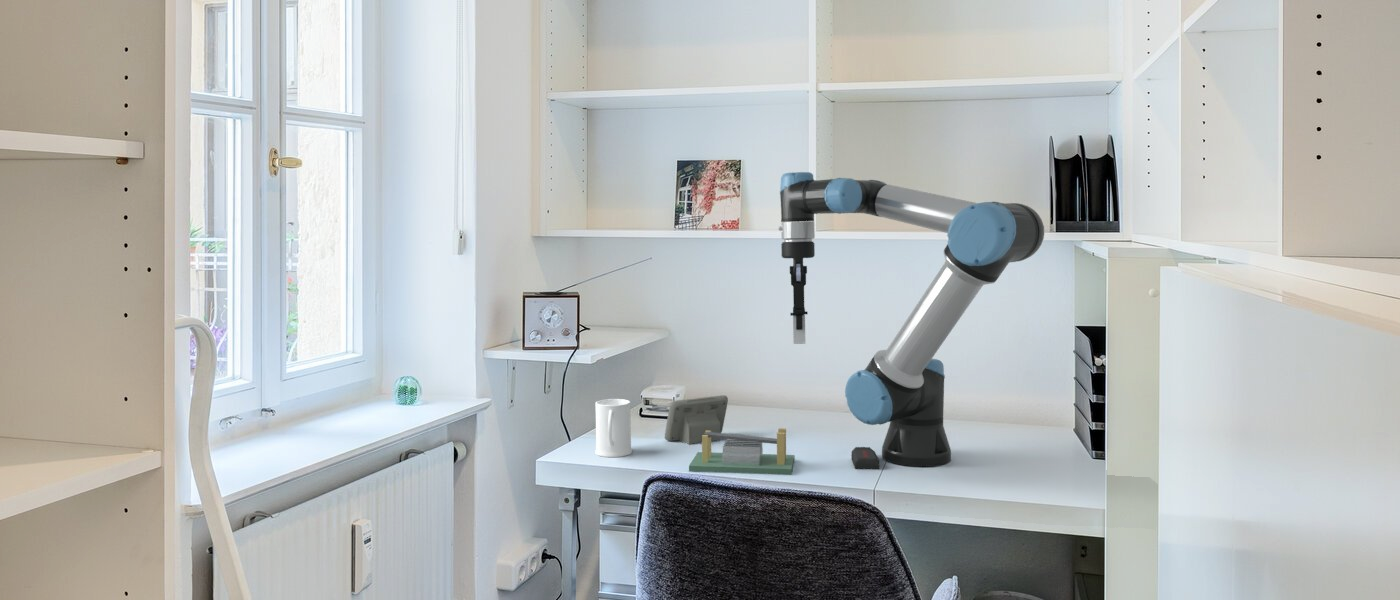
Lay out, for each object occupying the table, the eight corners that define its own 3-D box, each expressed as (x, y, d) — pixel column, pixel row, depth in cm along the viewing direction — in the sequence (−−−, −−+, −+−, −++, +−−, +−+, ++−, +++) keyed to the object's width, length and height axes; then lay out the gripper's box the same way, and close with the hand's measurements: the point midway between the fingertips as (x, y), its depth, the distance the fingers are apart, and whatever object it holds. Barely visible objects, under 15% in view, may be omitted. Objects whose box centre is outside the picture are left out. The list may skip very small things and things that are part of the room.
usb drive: (855, 470, 204) (855, 458, 204) (850, 456, 216) (850, 444, 216) (879, 471, 204) (879, 458, 203) (873, 456, 216) (873, 445, 215)
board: (794, 460, 212) (794, 425, 211) (791, 474, 200) (791, 437, 199) (697, 457, 215) (697, 422, 214) (689, 471, 203) (688, 434, 203)
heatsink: (762, 456, 211) (762, 439, 210) (759, 465, 203) (759, 448, 202) (727, 455, 212) (726, 438, 212) (722, 464, 204) (722, 447, 204)
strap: (784, 442, 207) (784, 438, 207) (783, 445, 204) (783, 441, 204) (705, 434, 210) (705, 430, 210) (703, 438, 207) (703, 433, 207)
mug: (625, 461, 212) (625, 408, 211) (588, 460, 213) (587, 408, 212) (635, 448, 224) (634, 398, 223) (599, 448, 225) (598, 398, 223)
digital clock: (722, 433, 239) (722, 391, 238) (734, 441, 231) (733, 398, 230) (660, 438, 234) (660, 395, 233) (670, 446, 226) (669, 402, 225)
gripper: (781, 240, 222) (783, 340, 224) (780, 241, 209) (782, 347, 211) (813, 240, 221) (815, 339, 223) (814, 240, 209) (816, 346, 210)
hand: (799, 343), depth 217 cm, fingers closed
